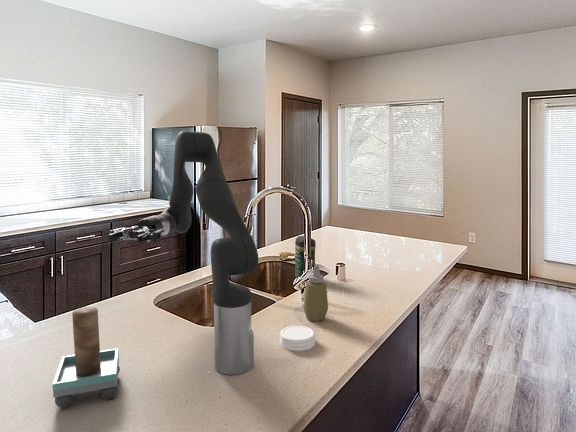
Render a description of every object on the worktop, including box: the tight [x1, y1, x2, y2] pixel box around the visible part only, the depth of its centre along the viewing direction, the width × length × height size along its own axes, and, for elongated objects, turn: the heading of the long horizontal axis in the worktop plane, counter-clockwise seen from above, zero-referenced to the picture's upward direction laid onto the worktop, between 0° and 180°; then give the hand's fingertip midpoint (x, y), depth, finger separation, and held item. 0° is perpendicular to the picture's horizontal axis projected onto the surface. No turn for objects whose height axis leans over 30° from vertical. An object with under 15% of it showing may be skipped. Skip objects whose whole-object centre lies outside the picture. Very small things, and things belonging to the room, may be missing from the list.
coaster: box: [279, 325, 316, 352], centre depth 115 cm, size 10×10×4 cm
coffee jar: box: [294, 235, 317, 279], centre depth 172 cm, size 10×8×19 cm
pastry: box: [278, 251, 295, 259], centre depth 206 cm, size 9×7×4 cm
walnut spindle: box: [71, 306, 101, 377], centre depth 89 cm, size 5×5×14 cm
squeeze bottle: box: [303, 264, 329, 323], centre depth 131 cm, size 8×8×18 cm
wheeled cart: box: [52, 348, 121, 409], centre depth 91 cm, size 12×12×6 cm
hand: (123, 239), depth 110 cm, fingers open, 8 cm apart
